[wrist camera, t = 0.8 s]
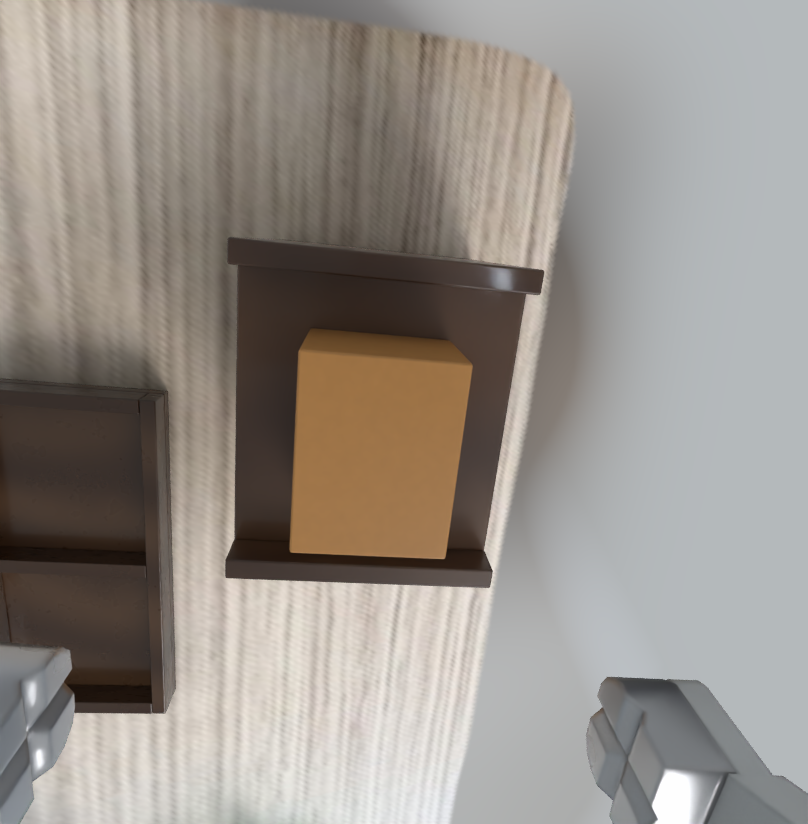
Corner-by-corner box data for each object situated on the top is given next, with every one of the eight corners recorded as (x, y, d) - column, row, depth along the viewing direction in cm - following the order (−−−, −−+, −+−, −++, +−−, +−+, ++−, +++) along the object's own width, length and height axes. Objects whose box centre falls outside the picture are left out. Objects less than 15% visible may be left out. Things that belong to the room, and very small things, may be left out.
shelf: (-33, 375, 28) (-61, 385, 26) (168, 390, 29) (154, 401, 27) (10, 685, 34) (-11, 712, 32) (176, 688, 35) (165, 714, 33)
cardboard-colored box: (310, 327, 19) (297, 349, 15) (450, 340, 19) (473, 363, 16) (301, 497, 21) (288, 555, 17) (429, 504, 21) (445, 561, 17)
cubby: (279, 239, 27) (226, 236, 16) (472, 259, 28) (545, 270, 17) (271, 459, 31) (225, 579, 20) (444, 469, 32) (490, 588, 21)
